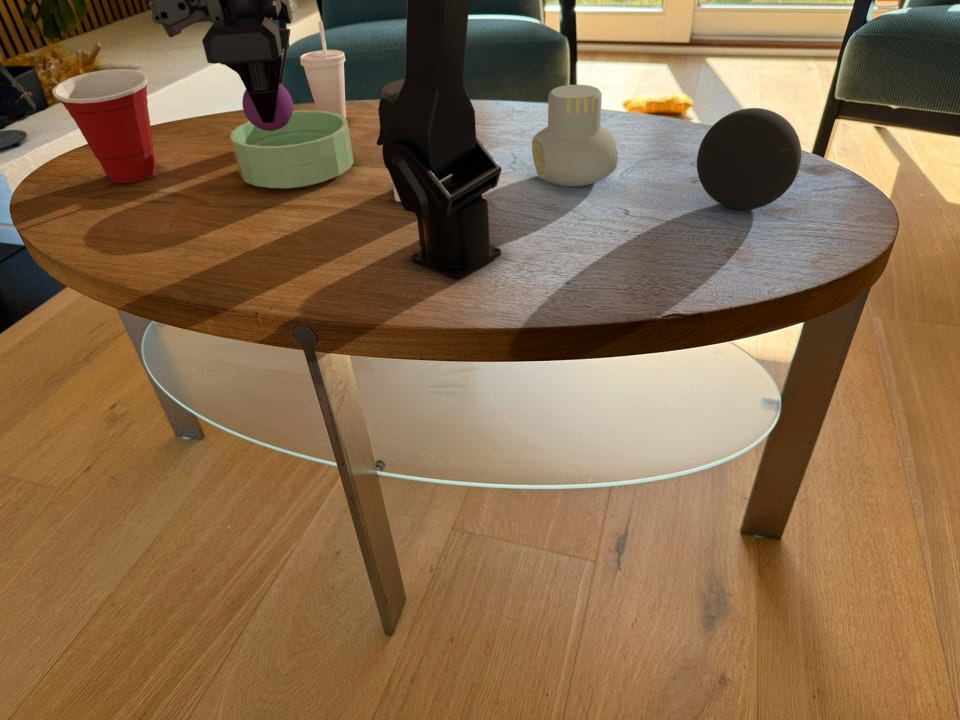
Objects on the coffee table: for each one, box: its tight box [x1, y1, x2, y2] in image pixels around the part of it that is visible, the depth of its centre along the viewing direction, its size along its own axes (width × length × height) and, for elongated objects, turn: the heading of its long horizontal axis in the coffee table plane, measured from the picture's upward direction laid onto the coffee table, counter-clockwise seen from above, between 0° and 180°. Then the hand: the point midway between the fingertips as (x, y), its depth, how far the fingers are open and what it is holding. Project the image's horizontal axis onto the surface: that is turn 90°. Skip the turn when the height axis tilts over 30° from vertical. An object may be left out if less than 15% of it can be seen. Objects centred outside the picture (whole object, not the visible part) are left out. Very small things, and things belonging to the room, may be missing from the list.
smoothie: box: [299, 20, 347, 119], centre depth 102 cm, size 6×6×14 cm
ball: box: [241, 83, 294, 131], centre depth 73 cm, size 5×5×5 cm
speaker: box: [696, 107, 802, 211], centre depth 73 cm, size 10×10×10 cm
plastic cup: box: [51, 68, 157, 184], centre depth 89 cm, size 11×11×12 cm
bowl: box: [229, 110, 355, 189], centre depth 89 cm, size 14×14×6 cm
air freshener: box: [531, 84, 619, 188], centre depth 81 cm, size 11×8×10 cm
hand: (270, 114), depth 73 cm, fingers closed on ball, 5 cm apart
